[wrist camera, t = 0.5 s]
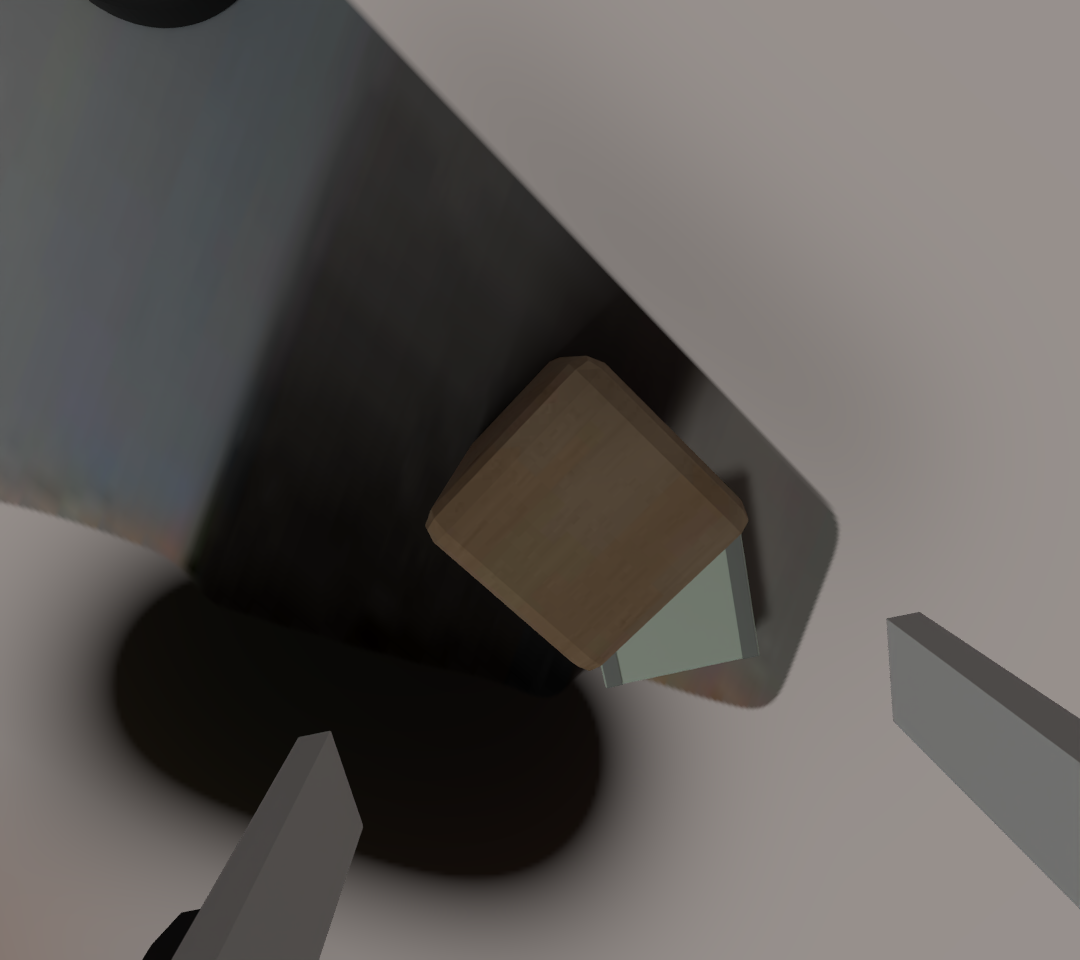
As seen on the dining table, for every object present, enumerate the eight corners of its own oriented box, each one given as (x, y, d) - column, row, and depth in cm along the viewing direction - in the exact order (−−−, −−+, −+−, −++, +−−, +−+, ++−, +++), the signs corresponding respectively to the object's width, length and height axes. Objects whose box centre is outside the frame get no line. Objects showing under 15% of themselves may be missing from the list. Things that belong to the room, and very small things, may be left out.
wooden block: (464, 451, 42) (410, 533, 22) (558, 351, 40) (589, 344, 21) (561, 539, 43) (590, 689, 24) (654, 446, 42) (767, 523, 22)
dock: (571, 532, 43) (574, 542, 40) (725, 498, 43) (737, 507, 40) (601, 669, 46) (606, 688, 43) (746, 638, 45) (759, 655, 43)
